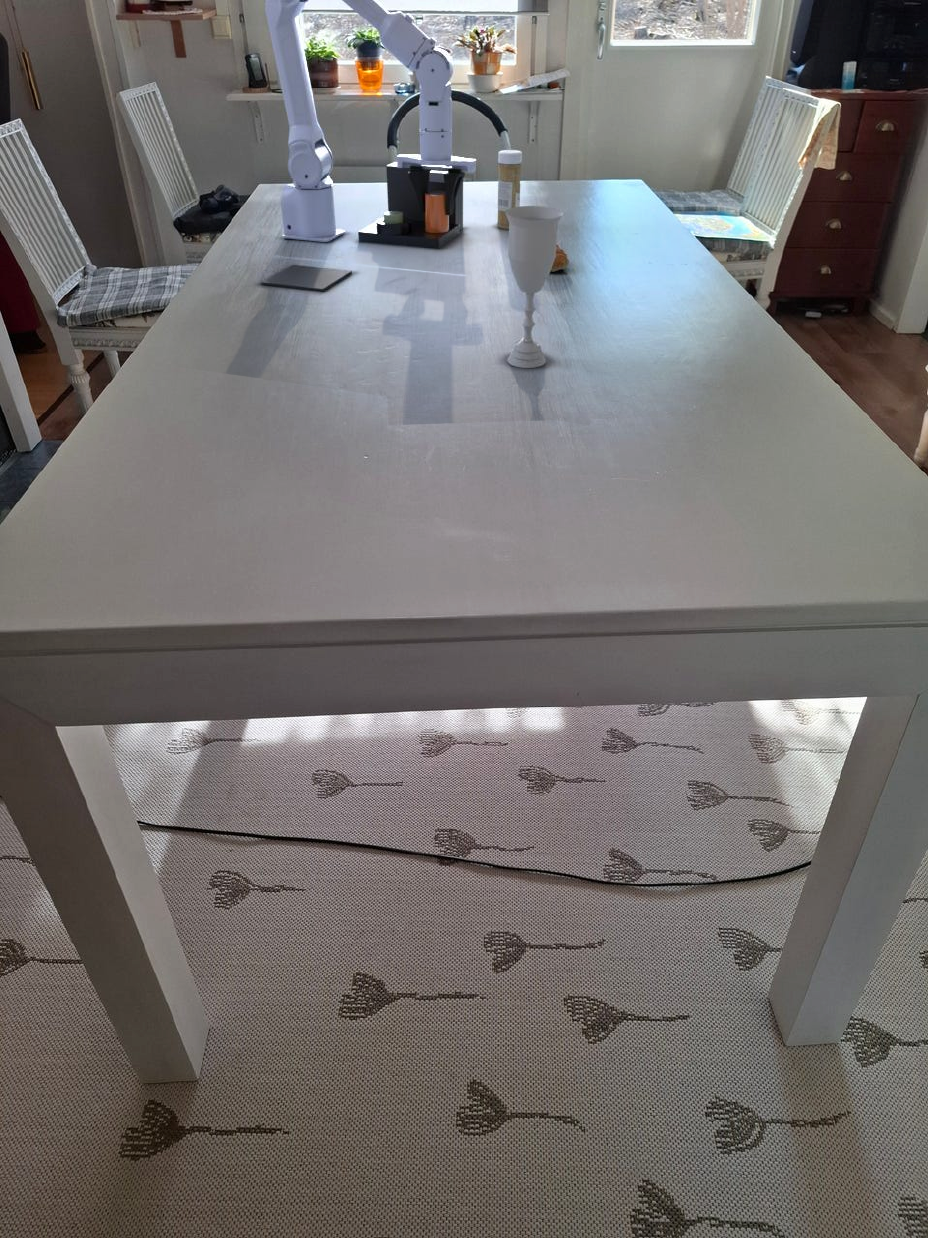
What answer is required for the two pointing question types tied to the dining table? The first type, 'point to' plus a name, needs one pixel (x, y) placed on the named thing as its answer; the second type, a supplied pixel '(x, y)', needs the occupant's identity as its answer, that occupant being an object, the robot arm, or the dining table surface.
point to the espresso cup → (436, 212)
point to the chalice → (531, 269)
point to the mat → (307, 278)
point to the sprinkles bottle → (508, 184)
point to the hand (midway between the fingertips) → (436, 212)
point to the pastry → (560, 260)
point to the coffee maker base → (407, 234)
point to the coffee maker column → (406, 198)
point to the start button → (393, 217)
